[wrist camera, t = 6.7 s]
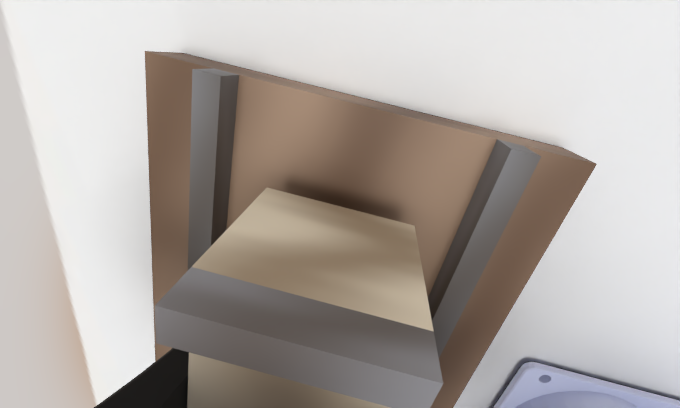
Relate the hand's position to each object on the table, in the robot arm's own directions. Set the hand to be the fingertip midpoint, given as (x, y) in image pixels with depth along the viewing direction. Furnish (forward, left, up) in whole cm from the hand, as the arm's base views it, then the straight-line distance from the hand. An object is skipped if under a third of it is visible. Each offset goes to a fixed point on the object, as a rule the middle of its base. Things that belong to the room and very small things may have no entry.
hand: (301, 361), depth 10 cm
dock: (0, 0, -5) cm, 5 cm away
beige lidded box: (0, 0, -2) cm, 2 cm away
